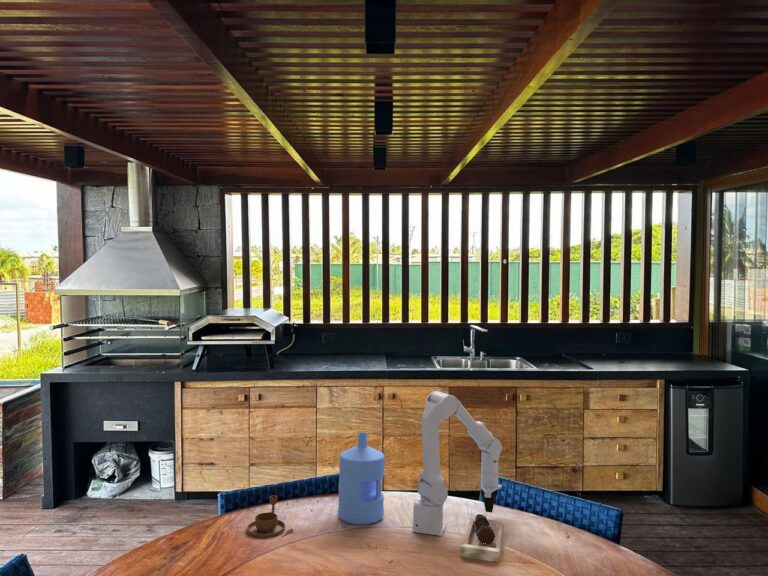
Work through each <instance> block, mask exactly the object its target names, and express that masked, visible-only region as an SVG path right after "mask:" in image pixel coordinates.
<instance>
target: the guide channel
mask: <svg viewBox="0 0 768 576" xmlns="http://www.w3.org/2000/svg"><path fill="white" fill-rule="evenodd" d="M474 521H475V518H472V517H470V520H469V523H468V526H467V529H466V532H465V535H464V538H463V542H462V543H461V545H460V557H461V558H465V557H466V559H472V558H474V560H479V559H480V560H481V561H485V560H487V561H486V562H492V561H496V562H495V563H499V562H500V557H501V551H500V550H502V549H501V548H502V544H503V543H502V542H503V538H504V537H503V536H504V530H505V522H504V521H499V527H498V533H497V539H496V544H495V547H491V546H490V547H489V546H482V545H475V544H470V541H471V538H472V533H473V531H474V527H475V524H474ZM470 537H471V538H470Z"/></svg>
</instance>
